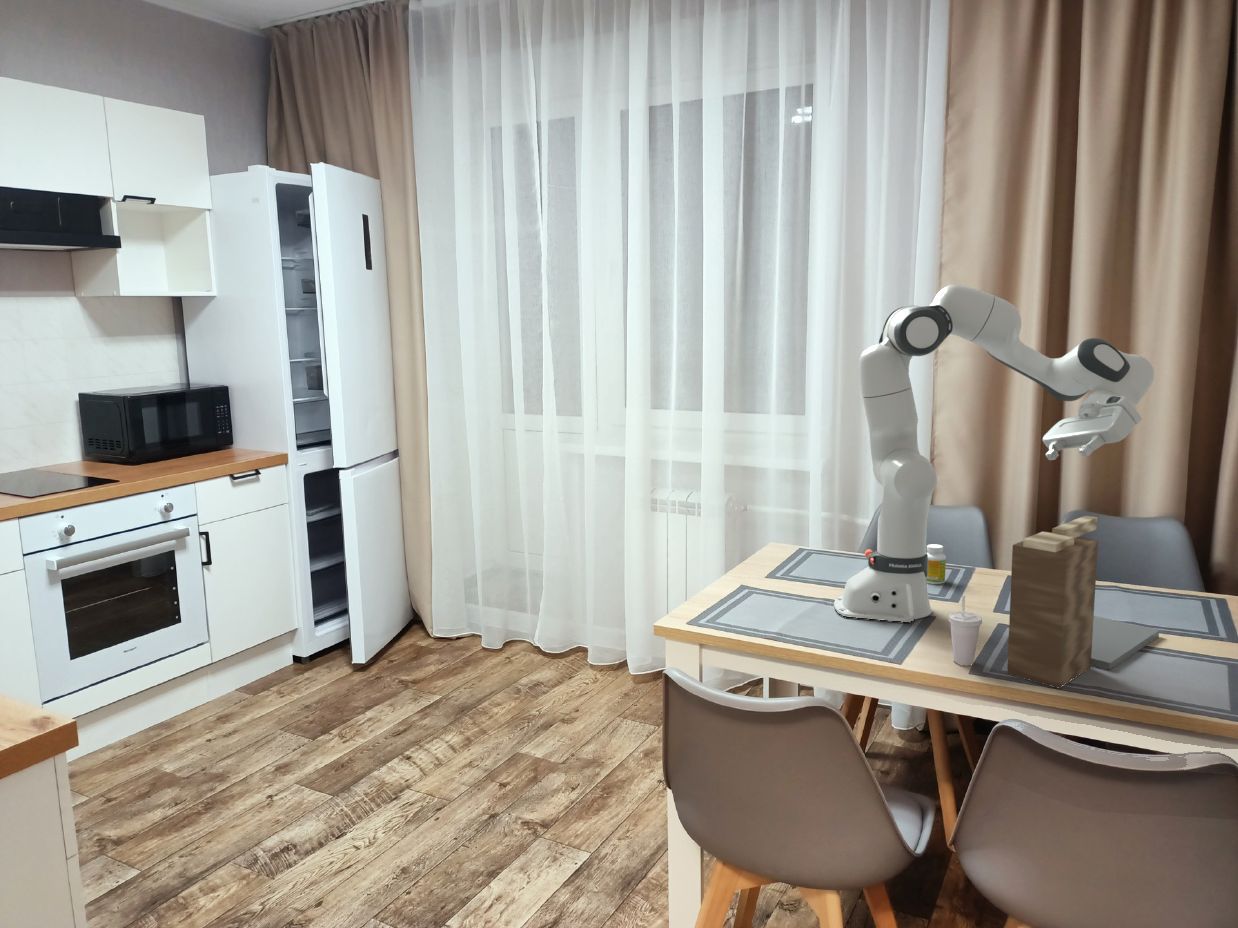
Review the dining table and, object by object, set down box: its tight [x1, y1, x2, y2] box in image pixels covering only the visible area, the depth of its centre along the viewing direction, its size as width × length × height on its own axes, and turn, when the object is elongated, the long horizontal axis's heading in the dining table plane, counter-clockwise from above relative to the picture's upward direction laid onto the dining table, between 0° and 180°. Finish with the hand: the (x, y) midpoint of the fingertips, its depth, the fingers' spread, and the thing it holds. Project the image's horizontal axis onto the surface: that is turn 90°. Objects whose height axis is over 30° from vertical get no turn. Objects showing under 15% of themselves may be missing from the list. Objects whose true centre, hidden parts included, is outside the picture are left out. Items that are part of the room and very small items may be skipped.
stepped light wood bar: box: [1022, 515, 1098, 552], centre depth 174 cm, size 23×6×2 cm, turn 131°
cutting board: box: [1091, 615, 1160, 671], centre depth 189 cm, size 26×16×2 cm, turn 131°
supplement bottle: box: [926, 543, 947, 585], centre depth 234 cm, size 5×5×10 cm
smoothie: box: [948, 595, 983, 666], centre depth 180 cm, size 6×6×14 cm
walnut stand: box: [1006, 536, 1099, 689], centre depth 173 cm, size 14×10×26 cm
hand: (1066, 455), depth 192 cm, fingers open, 8 cm apart
